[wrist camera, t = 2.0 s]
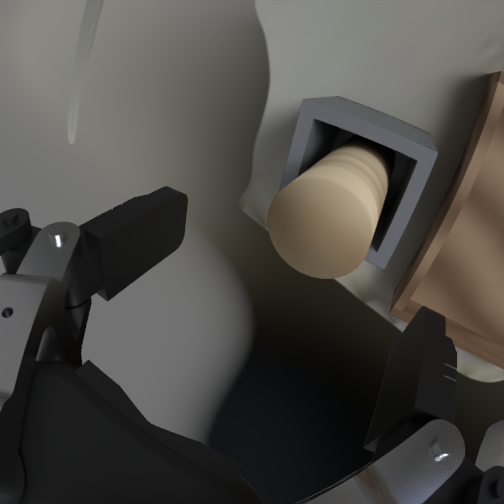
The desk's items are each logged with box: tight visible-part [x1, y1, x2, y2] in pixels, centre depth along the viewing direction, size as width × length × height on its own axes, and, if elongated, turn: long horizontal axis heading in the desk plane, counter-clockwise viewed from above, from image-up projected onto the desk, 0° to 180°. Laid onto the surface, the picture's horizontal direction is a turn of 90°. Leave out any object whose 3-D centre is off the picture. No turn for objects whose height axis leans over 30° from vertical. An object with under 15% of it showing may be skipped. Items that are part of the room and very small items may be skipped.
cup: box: [475, 420, 504, 472], centre depth 22 cm, size 8×8×10 cm
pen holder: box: [279, 96, 438, 269], centre depth 19 cm, size 7×7×8 cm
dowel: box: [268, 134, 395, 279], centre depth 17 cm, size 4×4×13 cm
